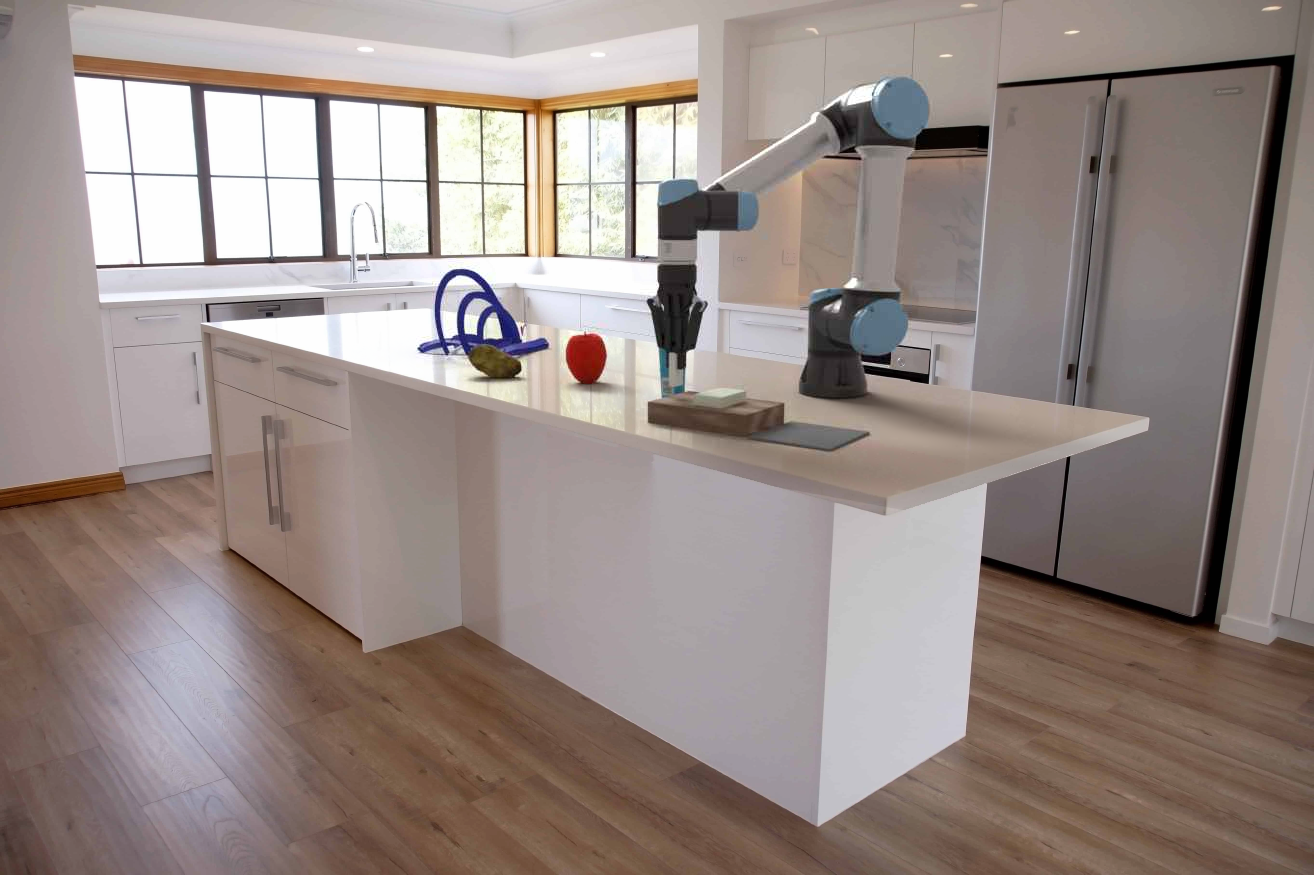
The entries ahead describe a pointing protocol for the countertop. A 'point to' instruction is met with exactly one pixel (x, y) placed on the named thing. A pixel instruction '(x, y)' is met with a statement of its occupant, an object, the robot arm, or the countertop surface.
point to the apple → (586, 357)
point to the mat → (809, 435)
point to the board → (716, 415)
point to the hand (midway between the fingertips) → (675, 385)
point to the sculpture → (480, 322)
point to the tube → (664, 376)
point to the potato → (494, 361)
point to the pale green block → (719, 397)
